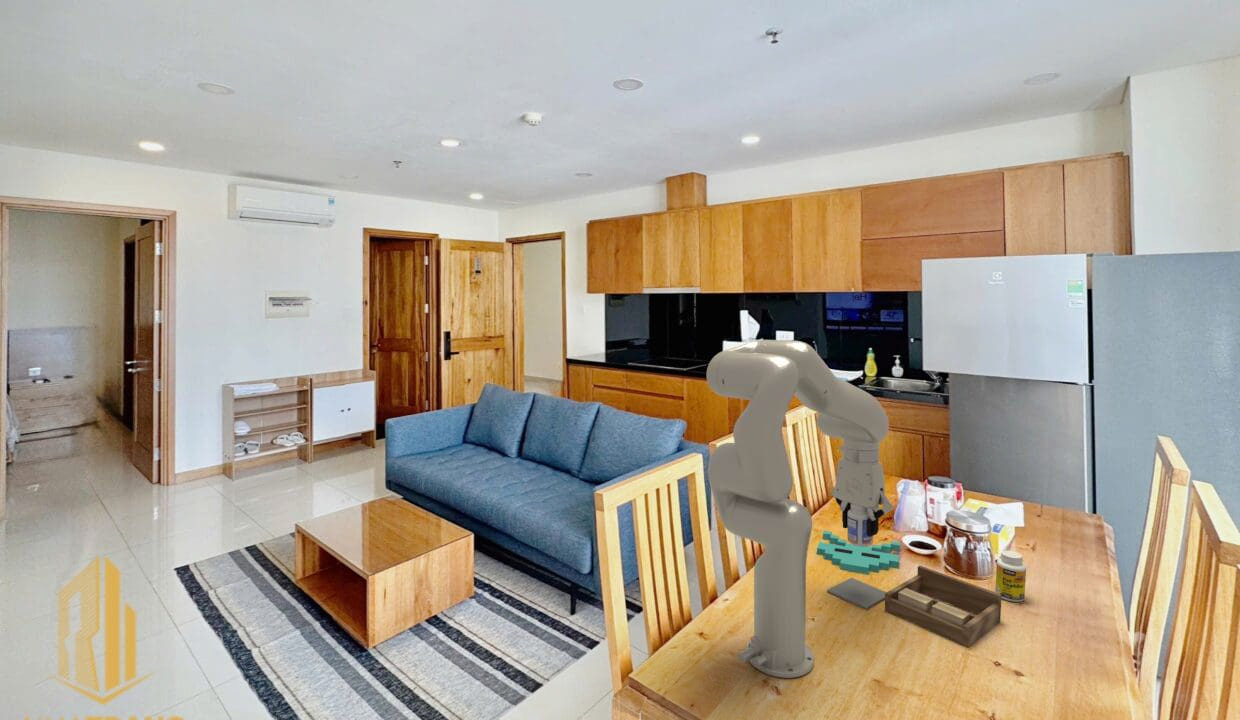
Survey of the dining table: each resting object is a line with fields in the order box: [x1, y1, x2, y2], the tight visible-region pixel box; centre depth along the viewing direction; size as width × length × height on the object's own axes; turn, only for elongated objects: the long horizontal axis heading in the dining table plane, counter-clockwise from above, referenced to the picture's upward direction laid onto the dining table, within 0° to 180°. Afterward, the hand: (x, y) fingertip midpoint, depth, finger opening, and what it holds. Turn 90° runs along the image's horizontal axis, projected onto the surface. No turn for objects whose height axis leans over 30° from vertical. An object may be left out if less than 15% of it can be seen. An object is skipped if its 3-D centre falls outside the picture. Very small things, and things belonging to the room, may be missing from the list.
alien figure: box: [816, 530, 901, 575], centre depth 150 cm, size 20×2×20 cm
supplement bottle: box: [994, 550, 1027, 603], centre depth 128 cm, size 6×6×10 cm
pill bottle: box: [847, 504, 874, 547], centre depth 129 cm, size 5×5×10 cm
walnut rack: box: [884, 565, 1002, 648], centre depth 121 cm, size 15×17×6 cm
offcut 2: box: [932, 601, 970, 628], centre depth 115 cm, size 3×6×4 cm, turn 35°
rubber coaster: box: [826, 577, 887, 611], centre depth 131 cm, size 10×10×1 cm
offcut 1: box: [898, 588, 934, 615], centre depth 121 cm, size 3×6×4 cm, turn 35°
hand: (859, 530), depth 129 cm, fingers closed on pill bottle, 5 cm apart
